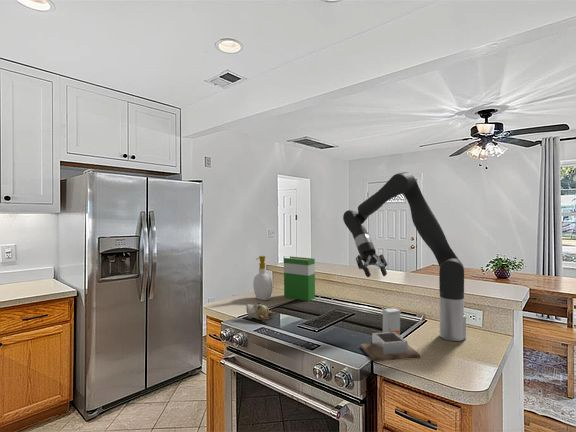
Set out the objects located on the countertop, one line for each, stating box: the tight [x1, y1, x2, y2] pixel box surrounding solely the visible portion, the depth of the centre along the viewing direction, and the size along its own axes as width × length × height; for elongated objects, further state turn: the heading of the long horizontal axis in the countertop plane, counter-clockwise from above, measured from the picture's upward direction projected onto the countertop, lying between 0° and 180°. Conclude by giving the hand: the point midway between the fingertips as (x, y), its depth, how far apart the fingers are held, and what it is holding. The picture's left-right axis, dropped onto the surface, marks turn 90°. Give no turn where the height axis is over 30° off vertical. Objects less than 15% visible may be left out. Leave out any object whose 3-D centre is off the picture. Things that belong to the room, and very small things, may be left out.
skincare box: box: [382, 308, 401, 336], centre depth 147 cm, size 6×4×12 cm
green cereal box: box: [283, 255, 316, 302], centre depth 212 cm, size 18×7×24 cm, turn 55°
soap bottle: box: [253, 255, 273, 301], centre depth 209 cm, size 14×9×26 cm, turn 47°
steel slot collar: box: [371, 331, 408, 356], centre depth 133 cm, size 9×10×4 cm
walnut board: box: [360, 342, 421, 362], centre depth 133 cm, size 18×13×1 cm
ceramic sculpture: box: [245, 302, 278, 322], centre depth 173 cm, size 11×9×15 cm
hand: (377, 275), depth 156 cm, fingers open, 8 cm apart
